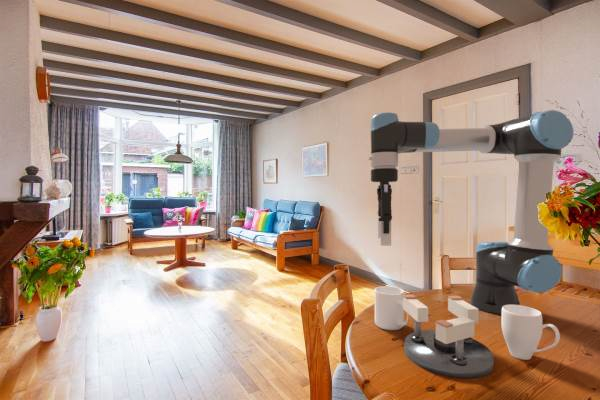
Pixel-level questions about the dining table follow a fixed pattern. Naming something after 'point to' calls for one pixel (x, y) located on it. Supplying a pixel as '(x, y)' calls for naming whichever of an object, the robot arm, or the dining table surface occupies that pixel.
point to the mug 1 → (389, 308)
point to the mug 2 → (524, 330)
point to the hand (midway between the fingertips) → (384, 241)
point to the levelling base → (449, 356)
